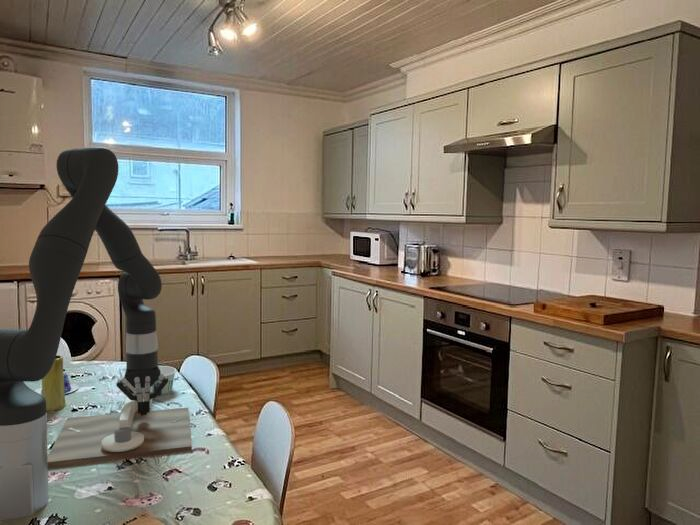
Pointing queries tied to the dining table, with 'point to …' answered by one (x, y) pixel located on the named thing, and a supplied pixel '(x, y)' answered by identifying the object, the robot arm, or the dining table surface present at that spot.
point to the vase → (54, 386)
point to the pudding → (66, 386)
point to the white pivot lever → (124, 431)
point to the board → (88, 432)
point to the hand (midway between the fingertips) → (144, 414)
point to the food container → (170, 373)
